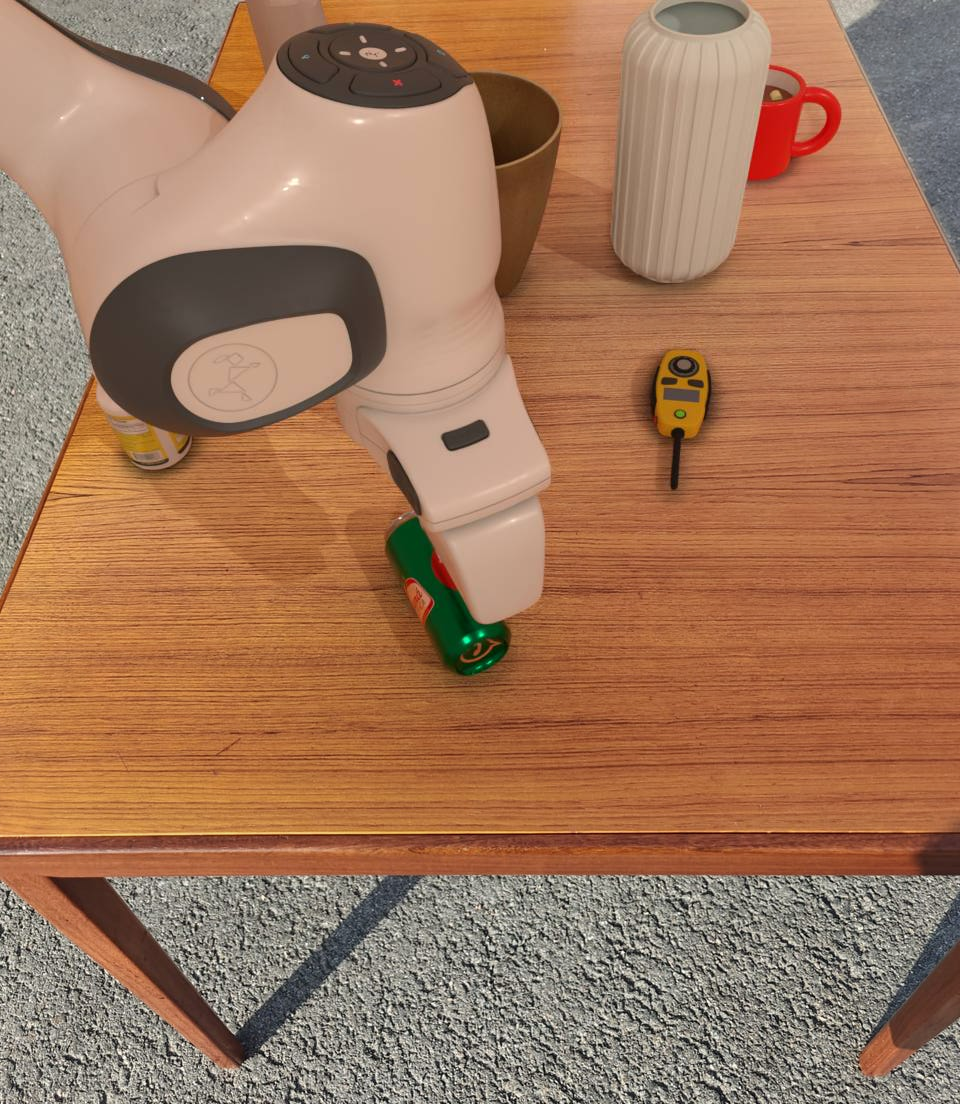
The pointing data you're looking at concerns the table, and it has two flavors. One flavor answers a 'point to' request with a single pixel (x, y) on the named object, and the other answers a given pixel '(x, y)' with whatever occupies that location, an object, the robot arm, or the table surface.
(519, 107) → the plant pot
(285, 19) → the pink piece
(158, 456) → the supplement bottle
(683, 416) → the yellow walkie talkie
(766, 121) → the mug
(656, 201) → the vase
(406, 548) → the soda can
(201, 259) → the robot arm
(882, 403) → the table surface
